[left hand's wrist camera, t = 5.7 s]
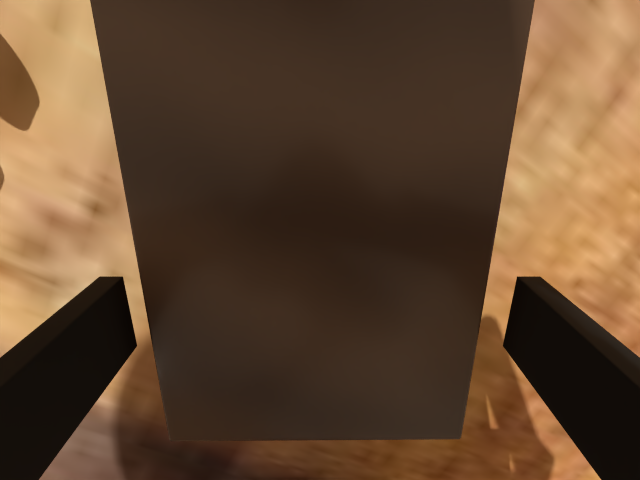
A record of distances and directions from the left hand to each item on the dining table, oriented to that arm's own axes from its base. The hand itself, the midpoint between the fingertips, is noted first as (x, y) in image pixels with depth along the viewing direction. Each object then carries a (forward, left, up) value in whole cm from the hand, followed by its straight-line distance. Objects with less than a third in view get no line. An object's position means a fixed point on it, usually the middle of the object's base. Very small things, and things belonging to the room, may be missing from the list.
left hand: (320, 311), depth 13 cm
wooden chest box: (+3, -3, -7) cm, 9 cm away
